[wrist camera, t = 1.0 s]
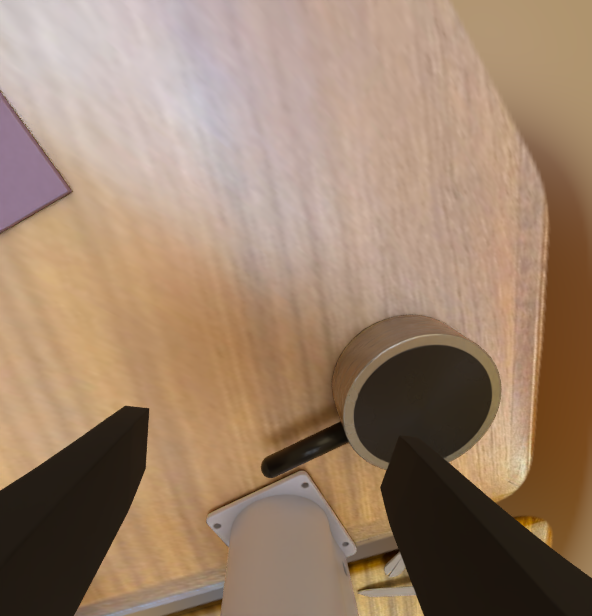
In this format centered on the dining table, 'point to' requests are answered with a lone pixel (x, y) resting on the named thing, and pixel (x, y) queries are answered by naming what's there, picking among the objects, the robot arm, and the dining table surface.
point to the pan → (404, 394)
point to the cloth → (24, 172)
